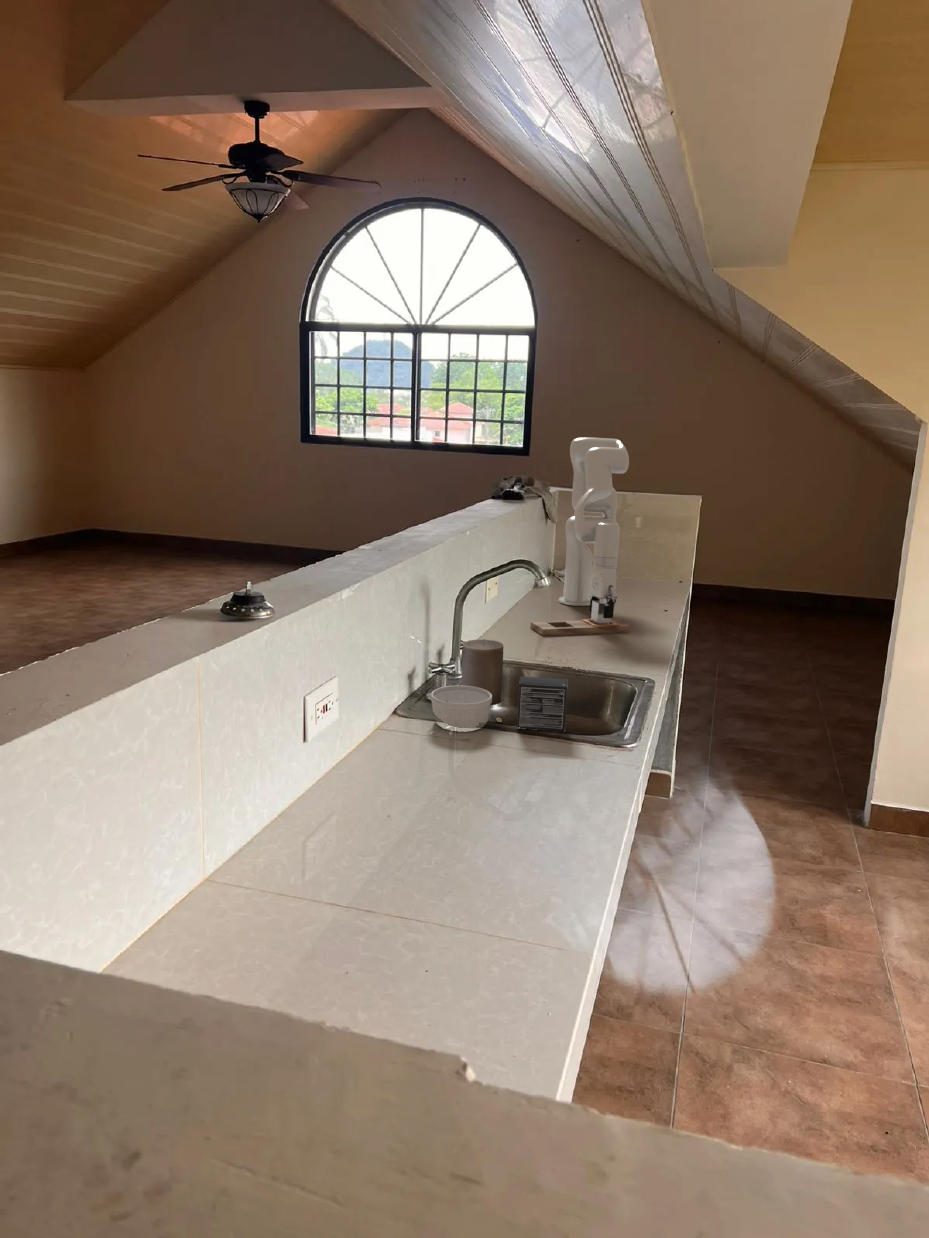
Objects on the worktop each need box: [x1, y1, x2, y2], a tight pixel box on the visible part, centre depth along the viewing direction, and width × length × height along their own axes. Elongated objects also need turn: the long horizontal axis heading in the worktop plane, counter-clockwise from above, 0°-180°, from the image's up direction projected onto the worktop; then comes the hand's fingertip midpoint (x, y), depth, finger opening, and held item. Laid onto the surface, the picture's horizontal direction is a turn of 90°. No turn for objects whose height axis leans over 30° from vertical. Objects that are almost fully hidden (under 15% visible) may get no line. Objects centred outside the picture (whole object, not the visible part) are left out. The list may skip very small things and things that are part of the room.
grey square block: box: [590, 599, 611, 625], centre depth 289 cm, size 4×4×9 cm
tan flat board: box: [530, 618, 631, 637], centre depth 287 cm, size 10×30×2 cm, turn 108°
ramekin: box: [430, 684, 492, 728], centre depth 196 cm, size 13×13×7 cm
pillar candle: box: [461, 638, 504, 706], centre depth 212 cm, size 10×10×15 cm
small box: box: [516, 676, 569, 733], centre depth 197 cm, size 11×6×10 cm, turn 84°
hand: (601, 614), depth 289 cm, fingers open, 9 cm apart
